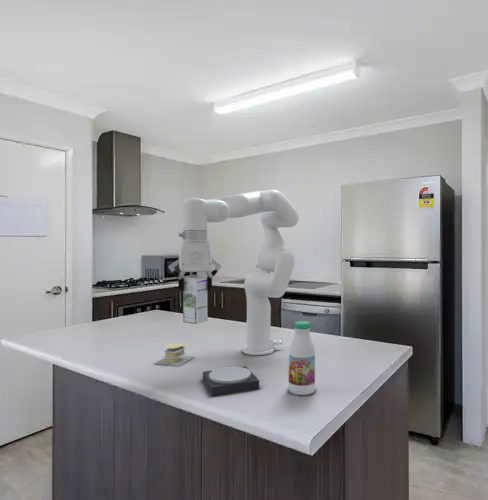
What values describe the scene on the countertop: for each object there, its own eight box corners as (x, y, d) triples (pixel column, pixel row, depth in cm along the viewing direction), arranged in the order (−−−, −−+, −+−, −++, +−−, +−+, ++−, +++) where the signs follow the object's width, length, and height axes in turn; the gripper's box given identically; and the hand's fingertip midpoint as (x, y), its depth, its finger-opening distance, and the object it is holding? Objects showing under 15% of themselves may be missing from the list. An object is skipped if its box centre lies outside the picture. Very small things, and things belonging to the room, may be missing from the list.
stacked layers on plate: (179, 365, 128) (179, 350, 128) (155, 364, 130) (155, 348, 130) (192, 357, 138) (192, 342, 138) (170, 355, 140) (171, 341, 139)
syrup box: (208, 321, 121) (208, 277, 121) (196, 324, 116) (196, 278, 116) (194, 319, 124) (194, 276, 123) (182, 322, 118) (182, 277, 118)
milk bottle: (287, 385, 111) (288, 319, 110) (313, 385, 111) (313, 319, 111) (289, 396, 103) (290, 325, 103) (316, 395, 104) (317, 325, 103)
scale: (246, 373, 121) (247, 363, 121) (260, 388, 108) (260, 377, 108) (202, 379, 115) (202, 369, 115) (211, 396, 102) (211, 384, 102)
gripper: (167, 236, 112) (167, 293, 113) (224, 236, 119) (224, 290, 119) (166, 236, 119) (166, 290, 120) (219, 237, 126) (219, 288, 126)
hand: (195, 290), depth 119 cm, fingers closed on syrup box, 7 cm apart
